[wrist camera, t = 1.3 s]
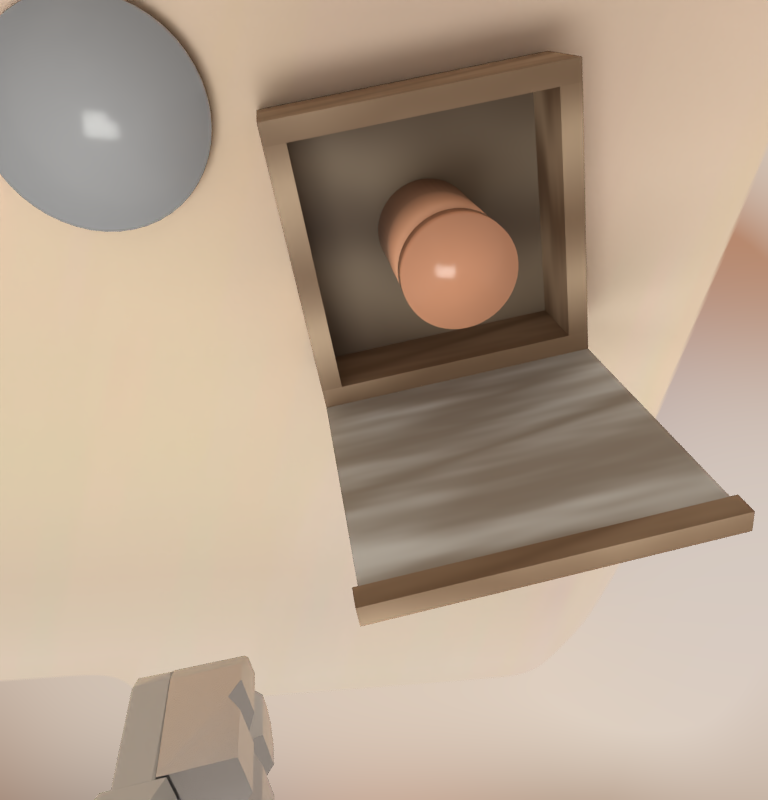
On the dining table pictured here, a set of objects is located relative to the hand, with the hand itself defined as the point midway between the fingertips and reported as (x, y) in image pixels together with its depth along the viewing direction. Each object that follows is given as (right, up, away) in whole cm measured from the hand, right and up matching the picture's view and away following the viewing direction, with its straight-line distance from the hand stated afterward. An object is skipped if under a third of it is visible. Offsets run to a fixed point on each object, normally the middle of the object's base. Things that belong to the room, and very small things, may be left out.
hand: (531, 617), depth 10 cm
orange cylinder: (0, +12, +26) cm, 28 cm away
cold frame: (0, +12, +26) cm, 29 cm away
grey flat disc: (-15, +16, +21) cm, 31 cm away
